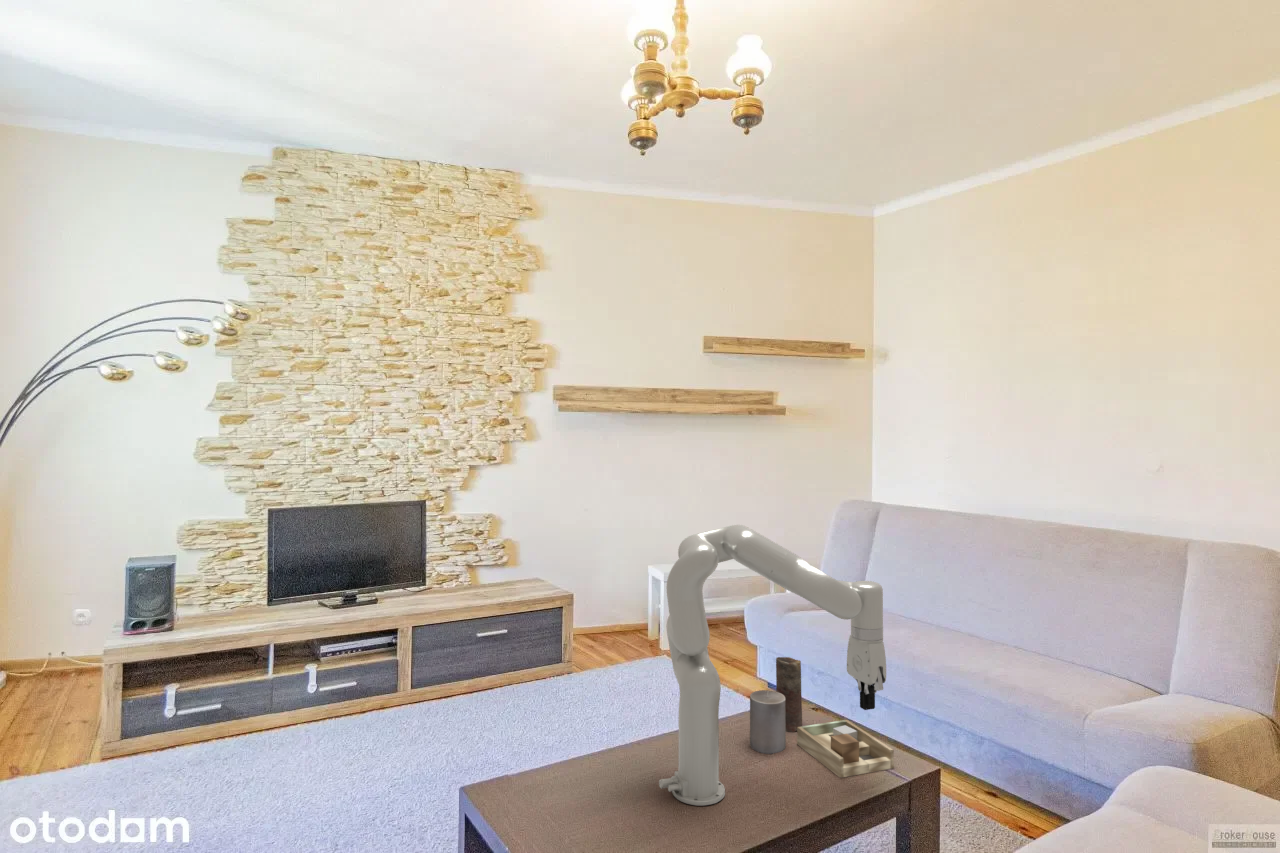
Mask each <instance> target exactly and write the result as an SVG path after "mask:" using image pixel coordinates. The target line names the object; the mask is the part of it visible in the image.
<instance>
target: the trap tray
mask: <svg viewBox="0 0 1280 853" xmlns="http://www.w3.org/2000/svg"><path fill="white" fill-rule="evenodd" d="M844 725H846V726H848V727H850V728H852V729H854V730H856V731H857V740H858V741H859V761H858V762H852V763H846V764H844V758H843V757H841V756H840V755H838V754H837V753H836V752H834V751H833V750H832V749H831V736H833V728H836V727H840V726H844ZM796 735H797V736H796V743H797V746H799V747H800V748H801V749H802V750H803V751H804V752H806V753H808V754H809V755H810V756H811V757H813V758H814V759H815V760H816V761H817V762H819V763H820V764H822V765H823V766H824V767H825V768H826V769H828V770H829V771H830V772H832V773H833V774H834V775H836V776H837V777H838V778H839V779H841V778H842V779H843V778H849V777H853V776H859V775H864V774H871V773H875V772H880V771H887V770H892V769H895V766H894V764H895V760H894V759H895V758H894V757H895V753H894V752H895V751H894V750H895V749H894V748H892V747H890V746H889V745H887V744H886V743H884V742H882V741H881V740H880V739H878V738H876V737H875V736H873V735H872V734H870V733H869V732H867V731H865V730H864V729H863V728H861V727H860V726H858V725H856V724H855V723H854V722H852V721H850V720H848V719H842V720H836V721H829V722H828V721H827V722H822V723H815V724H810V725H802V726H801V727H797V730H796Z"/></svg>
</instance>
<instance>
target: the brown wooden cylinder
mask: <svg viewBox="0 0 1280 853" xmlns="http://www.w3.org/2000/svg"><path fill="white" fill-rule="evenodd" d="M775 671H776V672H775V677H776V678H775V680H776V682H775V683H776V686H775V687H776V692H779V693H781V694H783V695H784V696H785V710H786V711H785V712H786V713H785V723H786V733H795V732H797V727H801V726H803V705H802V704H803V703H802V699H803V698H802V661H801V660H800V659H795V658H793V657H790V656H787V657H786V656H785V657H784V656H782V657H780V656H778V657H776V658H775Z"/></svg>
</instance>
